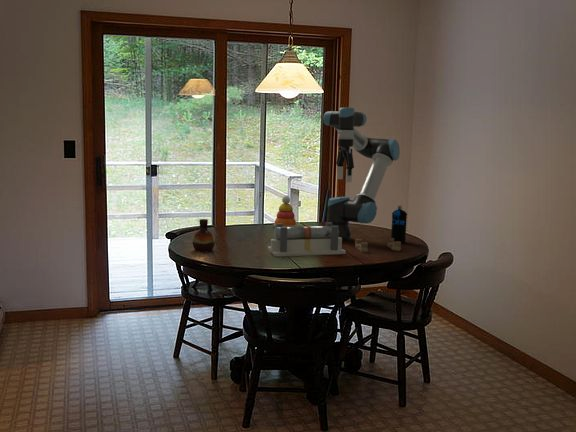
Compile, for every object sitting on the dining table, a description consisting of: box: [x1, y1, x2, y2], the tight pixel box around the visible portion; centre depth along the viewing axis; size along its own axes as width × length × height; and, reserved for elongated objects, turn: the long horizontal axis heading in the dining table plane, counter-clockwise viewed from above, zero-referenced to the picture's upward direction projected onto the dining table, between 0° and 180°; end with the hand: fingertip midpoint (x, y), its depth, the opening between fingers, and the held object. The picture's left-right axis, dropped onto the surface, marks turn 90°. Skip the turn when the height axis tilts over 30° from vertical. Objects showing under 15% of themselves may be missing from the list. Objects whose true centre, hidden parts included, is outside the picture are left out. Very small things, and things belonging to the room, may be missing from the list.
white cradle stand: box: [267, 221, 347, 257], centre depth 308 cm, size 16×36×14 cm, turn 104°
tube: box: [273, 225, 339, 239], centre depth 308 cm, size 32×6×6 cm, turn 104°
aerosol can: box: [390, 205, 408, 244], centre depth 335 cm, size 8×8×20 cm
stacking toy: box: [273, 195, 298, 228], centre depth 371 cm, size 14×14×20 cm
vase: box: [191, 218, 216, 253], centre depth 305 cm, size 11×11×15 cm
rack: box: [354, 237, 402, 253], centre depth 318 cm, size 10×21×4 cm, turn 104°
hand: (344, 180), depth 315 cm, fingers open, 13 cm apart
